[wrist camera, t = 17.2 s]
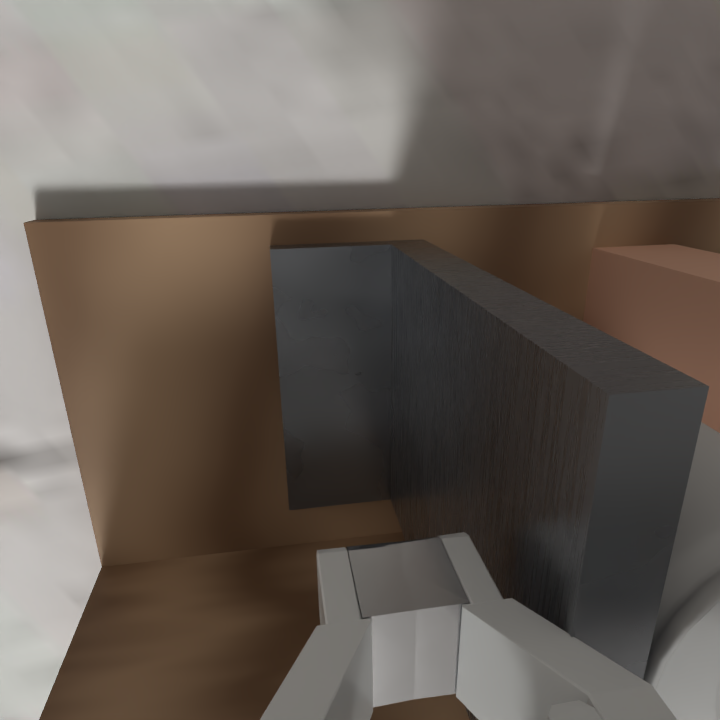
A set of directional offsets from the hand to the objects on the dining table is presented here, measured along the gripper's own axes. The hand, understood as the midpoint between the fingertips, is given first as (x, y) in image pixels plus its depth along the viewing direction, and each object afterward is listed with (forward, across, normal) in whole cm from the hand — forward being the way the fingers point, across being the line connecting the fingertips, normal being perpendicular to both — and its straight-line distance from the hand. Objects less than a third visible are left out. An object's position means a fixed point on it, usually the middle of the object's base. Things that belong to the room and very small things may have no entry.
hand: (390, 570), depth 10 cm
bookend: (+9, -1, 0) cm, 9 cm away
